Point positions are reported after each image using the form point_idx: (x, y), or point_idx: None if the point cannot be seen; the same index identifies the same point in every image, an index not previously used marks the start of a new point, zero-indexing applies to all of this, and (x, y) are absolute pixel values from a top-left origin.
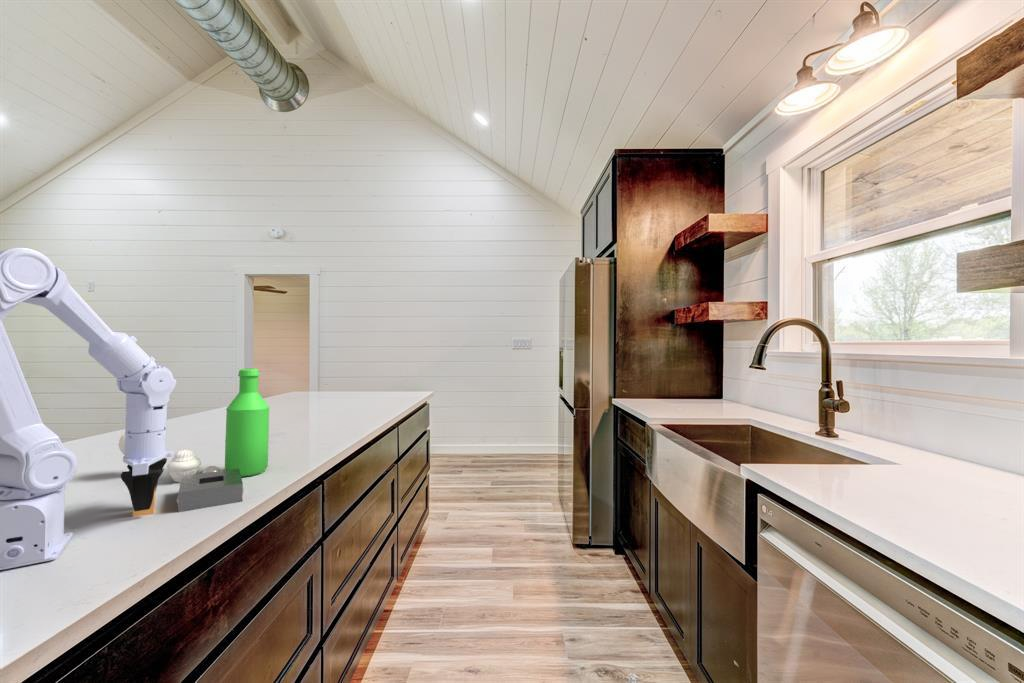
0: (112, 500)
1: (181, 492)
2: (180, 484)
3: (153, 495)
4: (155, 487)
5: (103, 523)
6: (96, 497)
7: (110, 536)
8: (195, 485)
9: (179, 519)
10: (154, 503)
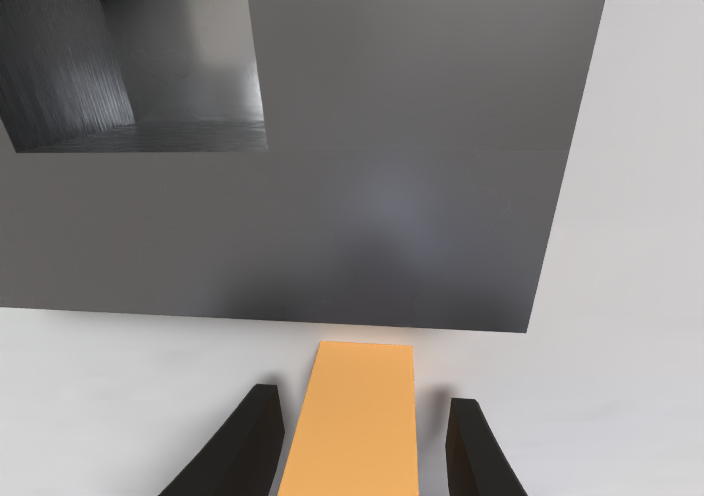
0: (110, 457)
1: (528, 311)
2: (204, 314)
3: (480, 469)
4: (290, 468)
5: (427, 478)
6: (57, 488)
7: (649, 465)
8: (312, 190)
9: (668, 227)
10: (349, 375)
